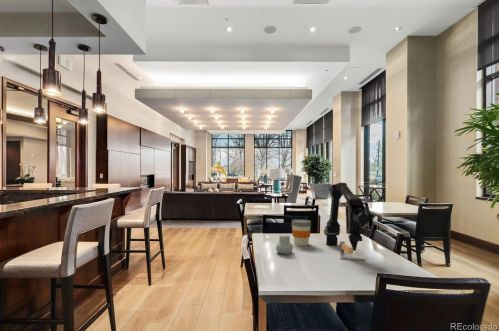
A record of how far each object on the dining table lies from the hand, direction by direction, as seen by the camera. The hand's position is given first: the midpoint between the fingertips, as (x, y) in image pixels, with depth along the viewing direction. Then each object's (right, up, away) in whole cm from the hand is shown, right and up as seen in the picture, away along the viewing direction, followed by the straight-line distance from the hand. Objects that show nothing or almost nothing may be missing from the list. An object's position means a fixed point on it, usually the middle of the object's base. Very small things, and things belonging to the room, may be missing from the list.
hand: (354, 250), depth 151 cm
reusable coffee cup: (-23, -6, +33) cm, 40 cm away
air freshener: (-36, -5, +12) cm, 38 cm away
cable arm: (-3, -2, +5) cm, 6 cm away
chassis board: (+2, -5, +9) cm, 10 cm away
